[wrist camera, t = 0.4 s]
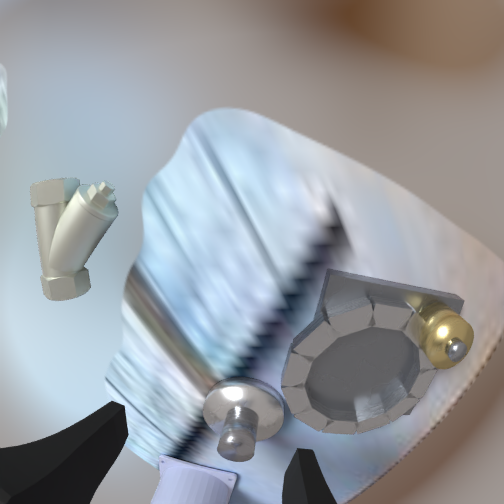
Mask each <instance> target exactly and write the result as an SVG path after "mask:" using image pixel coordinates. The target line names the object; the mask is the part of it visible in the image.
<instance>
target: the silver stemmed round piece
mask: <svg viewBox="0 0 504 504" xmlns="http://www.w3.org/2000/svg"><path fill="white" fill-rule="evenodd" d="M203 416H204V419H205V421H206V423H207V424H208V425H209V426H210V428H211V429H213V430H214V431H215V432H216V433H218V434H220V435H221V437H220V440H219V444H218V447H217V451H218V453H219V454H220V455H221V456H222V457H223V458H225V459H227V460H230V461H235V462H244V461H248V460H250V459H251V458H252V457H253V456H254V450H255V443H256V442H257V441H262V440H265V439H267V438H270V437H272V436H273V435H275V434H276V433H277V432H278V431H279V430H280V428H281V427H282V424H283V419H284V402H283V399H282V397H281V395H280V394H279V393H278V391H277V390H276V389H275V388H273V387H272V386H271V385H269V384H267V383H265V382H263V381H261V380H258V379H254V378H249V377H232V378H227V379H224V380H221V381H219V382H218V383H216V384H215V385H214V386H213V387H212V388H211V389H210V391H209V393H208V395H207V398H206V400H205V403H204V406H203Z"/></svg>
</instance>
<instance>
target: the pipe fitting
mask: <svg viewBox="0 0 504 504" xmlns="http://www.w3.org/2000/svg"><path fill="white" fill-rule="evenodd" d="M114 190H115V188H114V186H113V185H112V184H111V183H109V182H108V181H103V182H102V183H93V184H92V185H87V184H82V185H80V180H79V179H77V178H60V179H53V180H46V181H41V182H36V183H33V184H32V185H31V187H30V193H31V194H30V195H31V206H32V207H34V210H35V221H36V231H37V239H38V246H39V254H40V260H41V267H42V272H43V275H42V276H41V283H42V288H43V292H44V295H45V296H46V297H47V298H48V299H49V300H53V301H63V300H69V299H73V298H76V297H79V296H81V295H83V294H85V293H86V292H87V291H88V290H89V289H90V288H91V285H90V279H89V273H88V270H87V269H86V268H85V267H84V265H85V263H86V262H87V260H88V258H89V257H90V255H91V254H92V252H93V251H94V249H95V248H96V246H97V245H98V243H99V241H100V240H101V239H102V237H103V236H104V234H105V233H106V231H107V230H108V228H109V227H110V226H111V224H112V222H113V221H114V220H115V219H116V217H117V216H118V209H117V206H116V205H115V203H114V202H115V201H116V198H115V195H114V193H113V191H114Z"/></svg>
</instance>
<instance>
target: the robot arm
mask: <svg viewBox="0 0 504 504" xmlns="http://www.w3.org/2000/svg"><path fill="white" fill-rule="evenodd" d="M127 437H128V428H127V421H126V413H125V406H124V405H121V404H119V403H116V402H114V401H111V402H109V403H108V404H106V405H104V406H103V407H102V408H100V409H98V410H97V411H95V412H94V413H92V414H91V415H89V416H87V417H86V418H84V419H83V420H81V421H79V422H77V423H75V424H74V425H72V426H70V427H68V428H66V429H64V430H62V431H60V432H58V433H56V434H53V435H51V436H48V437H46V438H43V439H40V440H37V441H34V442H31V443H27V444H23V445H19V446H13V447H6V448H0V504H90V502H91V500H92V498H93V495H94V493H95V491H96V490H97V488H98V486H99V485H100V483H101V482H102V480H103V479H104V477H105V475H106V474H107V472H108V471H109V469H110V468H111V466H112V465H113V463H114V462H115V460H116V459H117V457H118V455H119V454H120V452H121V450H122V448H123V446H124V444H125V442H126V439H127ZM159 468H160V482H159V484H158V487H157V489H156V491H155V494H154V496H153V498H152V500H151V503H150V504H228V502H229V499H230V496H231V494H232V491H233V488H234V485H235V482H236V479H237V475H236V474H234V473H230V472H226V471H221V470H216V469H212V468H208V467H204V466H200V465H196V464H193V463H189V462H185V461H182V460H179V459H175V458H172V457H169V456H166V455H160V456H159ZM282 504H337V502H336V501H335V499H334V497H333V495H332V493H331V491H330V489H329V487H328V485H327V483H326V481H325V479H324V477H323V474H322V472H321V470H320V467H319V465H318V462H317V459H316V456H315V454H314V451H313V450H310V449H300V448H297V450H296V452H295V454H294V456H293V458H292V460H291V462H290V464H289V466H288V468H287V470H286V472H285V476H284V483H283V492H282Z"/></svg>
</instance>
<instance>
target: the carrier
mask: <svg viewBox="0 0 504 504" xmlns="http://www.w3.org/2000/svg"><path fill="white" fill-rule="evenodd" d="M463 304H464V300H463V299H462V298H460V297H459V296H457V295H455V294H451V293H446V292H441V291H436V290H431V289H426V288H421V287H416V286H411V285H406V284H401V283H396V282H391V281H386V280H381V279H376V278H371V277H366V276H362V275H357V274H352V273H347V272H342V271H337V270H332V269H327V273H326V276H325V280H324V284H323V288H322V292H321V295H320V299H319V303H318V306H317V310H316V313H315V317H314V320H313V321H312V322H311V323H310V324H309V325H308V326H307V327H306V328H305V329H304V330H303V331H302V332H301V333H299V334H298V335H297V336H296V337H295V338H294V339H293V343H291V344H290V348H289V351H288V355H287V358H286V361H285V365H284V368H283V371H282V378H281V389H282V391H283V394H284V396H285V399H286V401H287V404H288V406H289V408H290V411H291V413H292V414H294V417H295V418H297V419H299V420H300V421H302V422H304V423H305V424H307V425H309V426H310V427H312V428H314V429H315V430H317V431H320V430H322V432H323V433H335V434H353V435H354V433H355V432H356V430H357V434H359V433H363V432H366V431H369V430H372V429H375V428H378V427H381V426H384V425H387V424H390V422H389V420H391V421H392V422H393V421H395V420H396V419H397V418H399V417H400V416H401V415H410V413H411V411H412V410H413V408H414V406H415V405H416V403H417V402H419V398H422V397H423V395H424V393H425V392H426V390H427V388H428V386H429V384H430V383H431V381H432V379H433V377H434V375H435V373H436V371H437V369H436V368H438V369H448V368H451V367H453V366H455V365H456V364H458V363H459V362H460V361H461V360H463V359H464V357H465V356H466V355H467V354H468V352H469V350H470V348H471V346H472V343H473V339H474V332H473V328H472V327H471V325H470V324H469V323H467V322H466V321H465V320H464V319H463V318H462V317H461V316H459V314H460V312H461V309H462V306H463Z"/></svg>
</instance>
